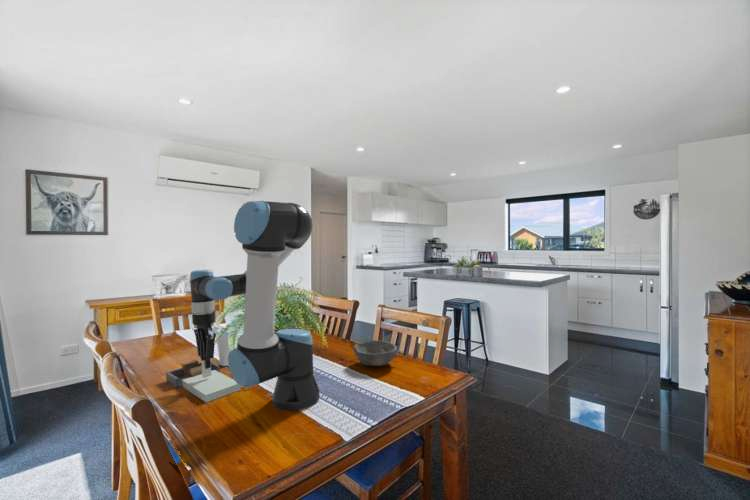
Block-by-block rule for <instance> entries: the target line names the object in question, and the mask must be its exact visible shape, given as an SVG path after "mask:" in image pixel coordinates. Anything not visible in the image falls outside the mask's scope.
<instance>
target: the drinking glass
mask: <svg viewBox="0 0 750 500" xmlns="http://www.w3.org/2000/svg"><path fill="white" fill-rule="evenodd" d="M221 329H222V328H219V329H217V330H216V336H217V335H218V333H219V332H220V331H221ZM228 335H229V333H228V331H227V332H225V334H224V335H222V336H221V337H220V338H219V339H218V340H217V339H216V347H217V352H218V359H219V366H220V367H229V365H228V355H229V353H230V349H229V345H228Z"/></svg>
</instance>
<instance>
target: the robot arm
mask: <svg viewBox="0 0 750 500" xmlns="http://www.w3.org/2000/svg"><path fill="white" fill-rule="evenodd" d="M233 232H234V233H235V238H236V240H237V241H238V242H239V243H240V244H242V245H241V248H242V250H243V251H244V252H245V253H246V254H247V256H246V258H247V259H246V270H245V271H244V273H240V274H239V273H238V274H231V275H221V276H215V275H214V271H213V270H212V269H199V270H198V269H196V270H192V271H191V272H190V274H189V276H190V277H189V278H190V279H189V283H190V284H189V285H190V296H191V297H190V298H191V301H190V306H191V313H192V315H191V318H192V324H193V325H194V326H196V329H194V330H193V332H194V337H195V342H196V349H197V355H198V357H200V361H201V362H202V377H203V378H206V377H209V376H212V375H211V362H212V359H214V356H215V343H216V342H215V341H216V338H217V333H216V332H213V328H212V324H213V323H215V322H216V312H215V307H216V306H215V305H216V301H219V300H222V301H223V300H226V299H228V298H230V297H237V296H241V295H242V296H243V295H245V297H244V298H245V299H244V317H243V333H242V334H241V335H240V336H238V338H237V345H236V348H233V350H231V351H230V353H229V355H228V365H229V366H228V369H229V371H230V374H231V376H232V379H233V380H235V381H236V382H237V384H239V385H240V388H241V387H242V388H246V389H247V388H251V387H254V386H259V384H262V383H265V382H268V381H270V380H273V379H275V378H276V383H275V386H274V389H273V394H272V405H273V407H274V408H276V409H279V410H281V411H299V410H304V409H307V408H311V406H314V405H315V404H316V403H318V402H319V400H320V389H319V387H318V383H317V381H316V378H315V376H314V354H313V353H314V352H313V351H314V350H313V349H314V348H313V345H314V343H313V337H312V334H311V332H310V331H307V330H305V329H300V328H299V329H298V328H284V329H279V330H277V331H276V332H275V320H276V305H277V294H278V293H277V290H278V279H279V276H278V275H279V267H280V266H281V264H283V262H284V261H286V259H287V258H288V257H289V256H290V255H291V254H292V253H293V252H294V251H295V250H298V249H301V248H302V247H303V246H304V245H305V244H306V243H307V242H308V240H309V239H310V237H311V235H312V232H313V220H312V217H311V215H310V213H309V211H308V210H307V209H306V208H305V207H303V206H302V205H300V204H298V203H294V202H280V201H266V200H265V201H264V200H251V201H246V202H244V203H243V204H242V205H241V207H240V208H238V210H237V212H236V215H235V218H234V223H233ZM201 362H200V363H201Z"/></svg>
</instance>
